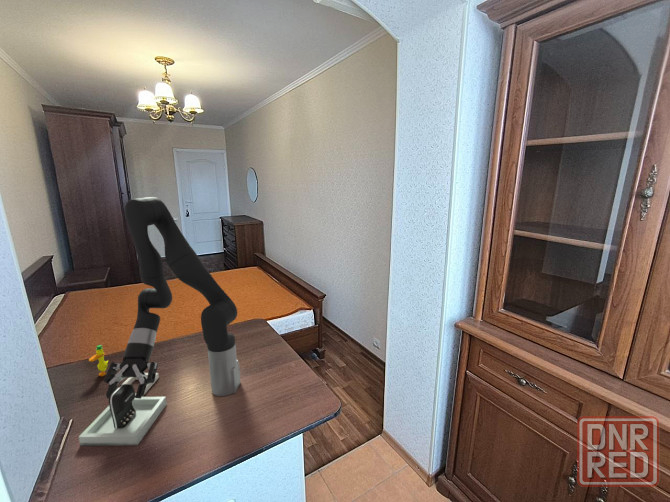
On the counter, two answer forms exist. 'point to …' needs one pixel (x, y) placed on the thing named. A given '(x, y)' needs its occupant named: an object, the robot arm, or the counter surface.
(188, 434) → the counter surface
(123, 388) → the battery charger
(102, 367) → the toy figure
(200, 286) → the robot arm
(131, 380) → the white rectangular frame
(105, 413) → the tray
